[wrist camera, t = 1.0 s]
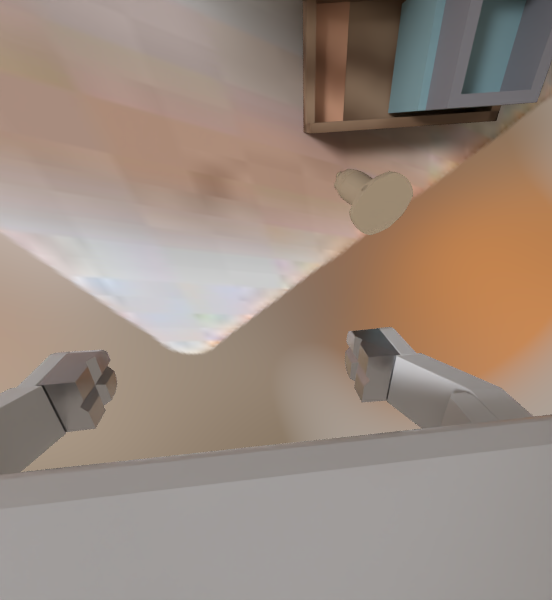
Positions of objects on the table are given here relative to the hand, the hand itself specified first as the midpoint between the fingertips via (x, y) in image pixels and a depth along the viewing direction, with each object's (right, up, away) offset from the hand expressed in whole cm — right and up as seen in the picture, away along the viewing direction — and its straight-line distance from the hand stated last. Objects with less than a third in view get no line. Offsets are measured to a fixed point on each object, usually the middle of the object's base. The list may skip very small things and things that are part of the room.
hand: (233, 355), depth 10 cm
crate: (+21, +30, +24) cm, 44 cm away
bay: (+16, +31, +25) cm, 43 cm away
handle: (+11, +20, +32) cm, 39 cm away
